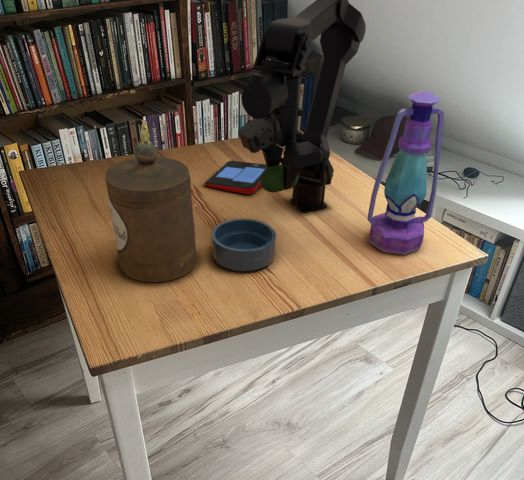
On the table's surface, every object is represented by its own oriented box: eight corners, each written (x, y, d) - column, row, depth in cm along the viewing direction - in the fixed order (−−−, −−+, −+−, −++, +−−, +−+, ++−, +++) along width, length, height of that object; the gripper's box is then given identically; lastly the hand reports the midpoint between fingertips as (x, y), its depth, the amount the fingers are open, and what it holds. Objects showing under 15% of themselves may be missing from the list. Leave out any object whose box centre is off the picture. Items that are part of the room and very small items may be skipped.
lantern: (414, 226, 123) (447, 80, 103) (435, 254, 114) (475, 100, 94) (355, 230, 121) (378, 81, 101) (372, 259, 112) (401, 103, 92)
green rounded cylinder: (289, 181, 116) (290, 157, 113) (302, 190, 113) (304, 166, 109) (255, 189, 113) (256, 164, 109) (268, 199, 109) (269, 174, 106)
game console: (229, 164, 145) (228, 156, 143) (275, 173, 141) (275, 165, 140) (203, 186, 135) (203, 178, 133) (252, 197, 131) (252, 188, 130)
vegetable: (158, 220, 122) (148, 126, 109) (139, 217, 123) (127, 124, 109) (165, 210, 125) (156, 119, 112) (146, 208, 126) (135, 117, 113)
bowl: (257, 235, 118) (258, 213, 115) (285, 264, 110) (287, 242, 107) (202, 248, 114) (201, 226, 111) (227, 279, 106) (227, 256, 102)
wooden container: (128, 240, 115) (112, 132, 101) (200, 243, 115) (194, 135, 101) (111, 281, 104) (90, 167, 90) (191, 285, 104) (183, 170, 89)
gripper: (219, 93, 104) (221, 174, 115) (272, 126, 92) (269, 213, 103) (271, 85, 109) (268, 164, 119) (327, 115, 97) (319, 199, 107)
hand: (279, 184), depth 112 cm, fingers closed on green rounded cylinder, 5 cm apart
